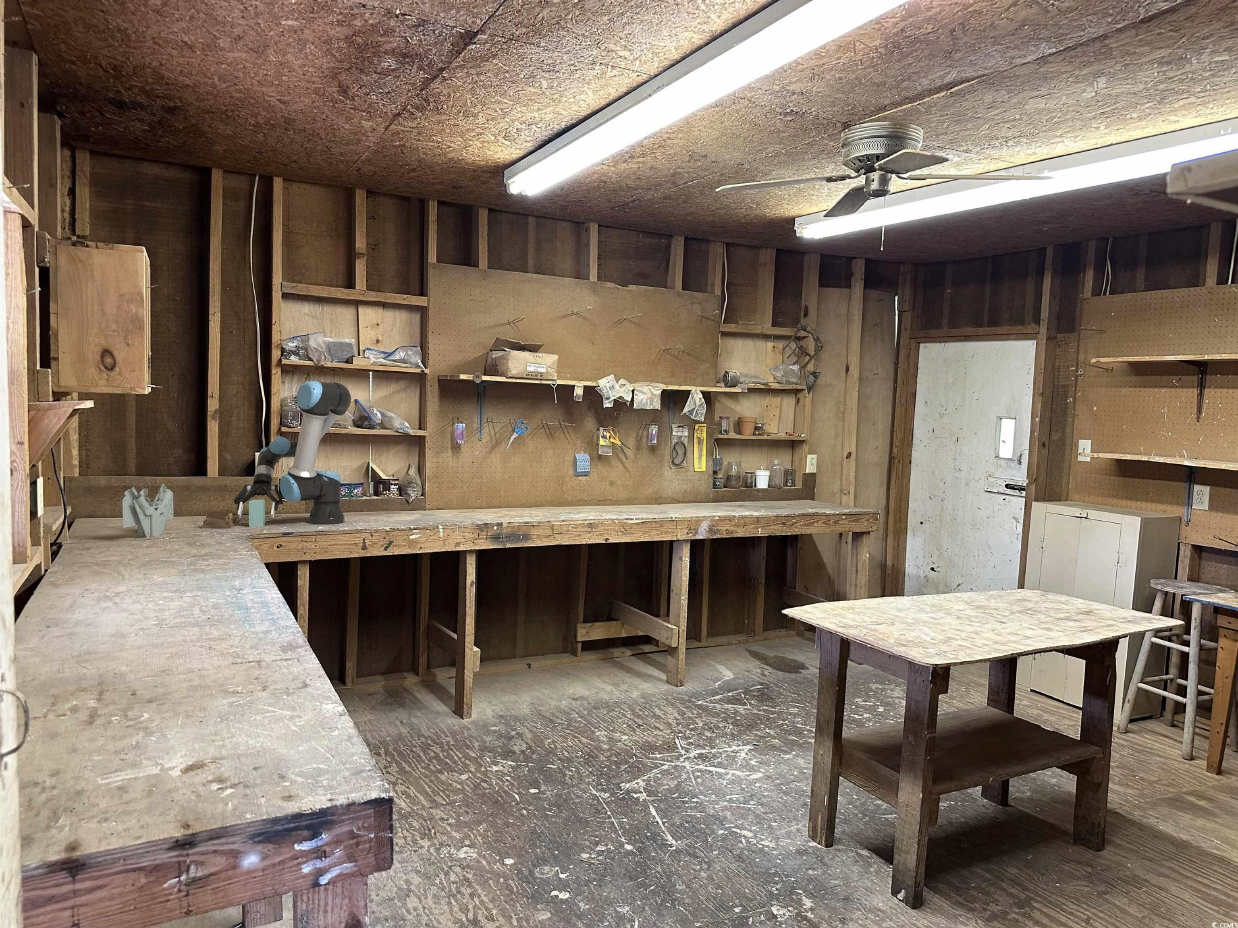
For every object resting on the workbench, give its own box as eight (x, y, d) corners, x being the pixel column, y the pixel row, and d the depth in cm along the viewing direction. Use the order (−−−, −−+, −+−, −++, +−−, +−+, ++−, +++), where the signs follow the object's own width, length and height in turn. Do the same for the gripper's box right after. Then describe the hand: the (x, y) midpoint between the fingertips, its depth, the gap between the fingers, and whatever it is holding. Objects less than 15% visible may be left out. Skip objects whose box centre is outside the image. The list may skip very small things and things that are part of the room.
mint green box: (252, 524, 356) (252, 499, 356) (265, 524, 357) (265, 499, 357) (249, 527, 350) (248, 501, 349) (261, 526, 351) (261, 501, 350)
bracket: (132, 541, 307) (131, 488, 306) (115, 540, 308) (114, 487, 307) (181, 531, 334) (181, 482, 333) (166, 530, 335) (165, 482, 334)
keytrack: (212, 523, 357) (211, 507, 357) (239, 523, 359) (238, 507, 359) (201, 528, 343) (201, 511, 342) (230, 528, 345) (230, 511, 344)
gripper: (293, 483, 370) (287, 521, 356) (235, 483, 365) (226, 521, 351) (291, 472, 364) (285, 510, 351) (232, 472, 359) (223, 510, 346)
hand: (255, 515), depth 351 cm, fingers open, 12 cm apart
